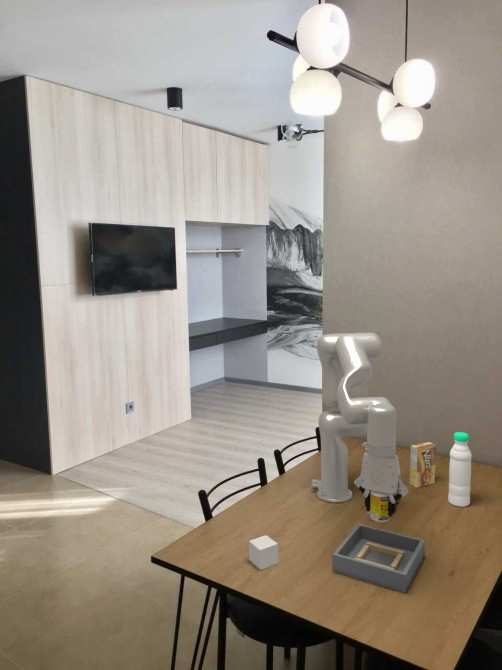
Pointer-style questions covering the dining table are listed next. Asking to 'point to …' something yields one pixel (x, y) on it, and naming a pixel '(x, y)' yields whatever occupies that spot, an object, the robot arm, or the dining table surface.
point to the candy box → (422, 464)
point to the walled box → (379, 557)
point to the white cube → (263, 552)
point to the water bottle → (460, 471)
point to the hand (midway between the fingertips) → (380, 511)
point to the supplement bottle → (379, 506)
